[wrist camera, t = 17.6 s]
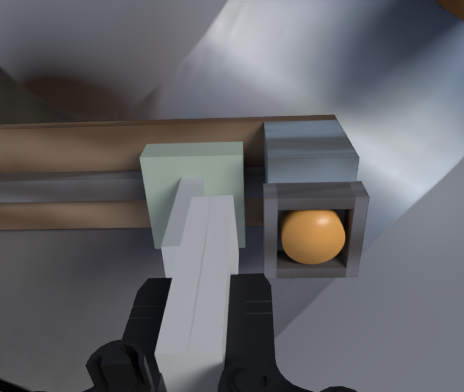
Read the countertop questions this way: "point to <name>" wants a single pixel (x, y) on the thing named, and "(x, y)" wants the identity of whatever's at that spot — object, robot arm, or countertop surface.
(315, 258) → the button
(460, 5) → the disposable coffee cup
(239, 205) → the block
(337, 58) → the countertop surface
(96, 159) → the rail bench
